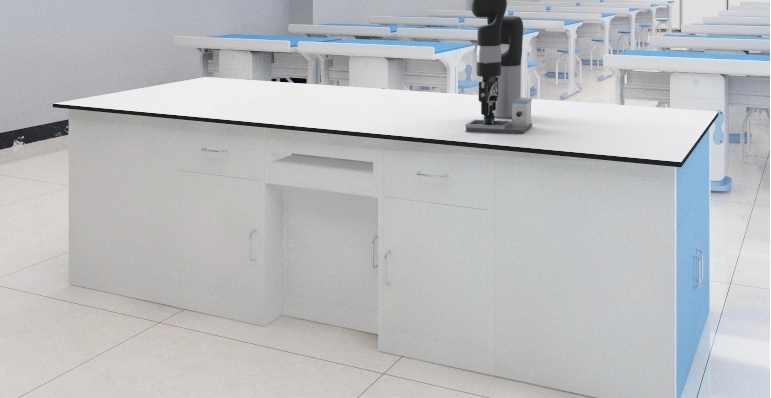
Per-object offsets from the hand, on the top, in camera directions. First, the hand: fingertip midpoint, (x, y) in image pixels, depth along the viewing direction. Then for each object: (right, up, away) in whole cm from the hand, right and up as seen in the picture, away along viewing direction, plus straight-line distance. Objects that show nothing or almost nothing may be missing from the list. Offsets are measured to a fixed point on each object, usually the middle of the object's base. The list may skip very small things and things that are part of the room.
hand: (488, 112), depth 289 cm
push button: (0, -4, 0) cm, 4 cm away
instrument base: (+4, -5, +2) cm, 6 cm away
